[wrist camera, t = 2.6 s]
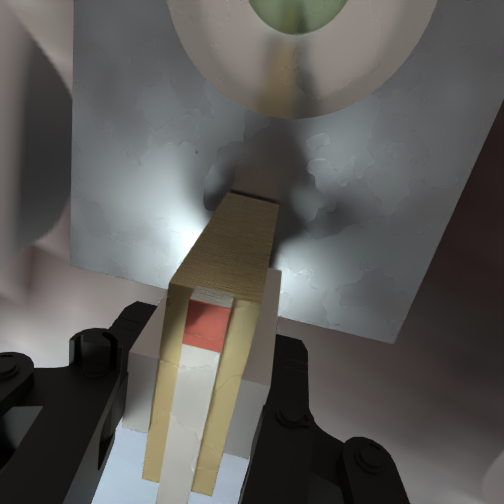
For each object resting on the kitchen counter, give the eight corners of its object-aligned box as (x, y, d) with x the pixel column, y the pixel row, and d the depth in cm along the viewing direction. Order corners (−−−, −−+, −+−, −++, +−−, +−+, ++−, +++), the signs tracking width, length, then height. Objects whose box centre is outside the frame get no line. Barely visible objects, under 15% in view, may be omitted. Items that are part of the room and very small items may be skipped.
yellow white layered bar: (245, 340, 19) (206, 519, 11) (201, 329, 19) (133, 501, 11) (279, 201, 16) (259, 316, 8) (228, 189, 16) (160, 292, 8)
